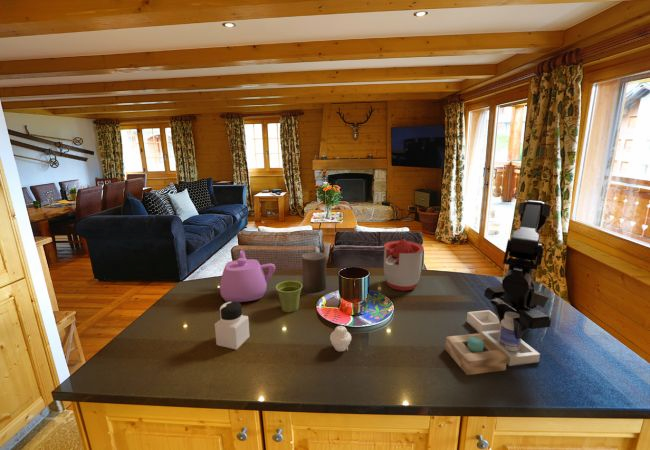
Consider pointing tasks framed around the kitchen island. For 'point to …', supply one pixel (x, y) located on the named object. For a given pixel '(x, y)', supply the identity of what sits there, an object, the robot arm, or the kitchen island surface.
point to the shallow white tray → (514, 357)
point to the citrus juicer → (402, 264)
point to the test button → (475, 344)
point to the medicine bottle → (232, 326)
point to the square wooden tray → (475, 355)
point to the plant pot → (289, 295)
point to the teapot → (244, 280)
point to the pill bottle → (508, 332)
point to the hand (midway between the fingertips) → (510, 333)
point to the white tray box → (483, 321)
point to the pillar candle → (314, 271)
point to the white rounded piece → (340, 338)
